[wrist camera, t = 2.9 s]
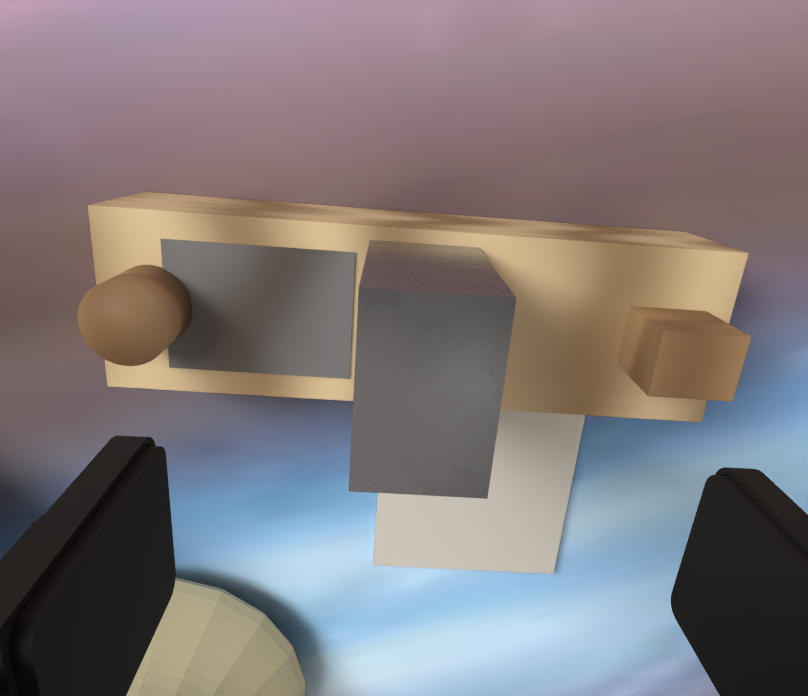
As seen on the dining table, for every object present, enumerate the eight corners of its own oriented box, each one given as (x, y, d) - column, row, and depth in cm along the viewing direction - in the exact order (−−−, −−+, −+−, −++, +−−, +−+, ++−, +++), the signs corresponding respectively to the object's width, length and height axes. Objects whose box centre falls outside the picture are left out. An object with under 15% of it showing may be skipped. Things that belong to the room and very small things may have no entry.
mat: (583, 408, 29) (586, 411, 29) (551, 568, 33) (553, 573, 32) (384, 395, 29) (384, 399, 28) (373, 559, 32) (373, 565, 32)
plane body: (685, 232, 26) (801, 271, 19) (651, 375, 29) (742, 460, 21) (144, 191, 25) (39, 216, 18) (156, 343, 28) (67, 421, 20)
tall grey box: (479, 247, 21) (516, 297, 15) (461, 396, 23) (487, 498, 17) (369, 239, 21) (358, 287, 15) (361, 390, 23) (348, 491, 17)
